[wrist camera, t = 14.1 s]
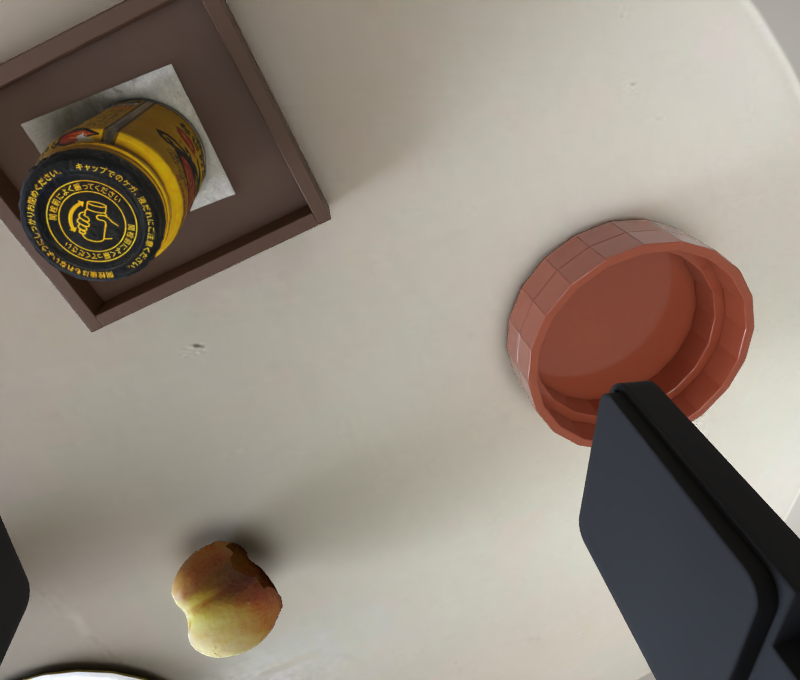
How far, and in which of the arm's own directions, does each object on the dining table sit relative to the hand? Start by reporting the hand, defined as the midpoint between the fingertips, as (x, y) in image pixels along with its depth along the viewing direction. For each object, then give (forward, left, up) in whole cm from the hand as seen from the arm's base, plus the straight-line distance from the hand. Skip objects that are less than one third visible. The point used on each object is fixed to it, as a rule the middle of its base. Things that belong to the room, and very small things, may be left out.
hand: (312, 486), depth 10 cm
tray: (+1, -8, -30) cm, 31 cm away
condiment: (+1, -9, -29) cm, 31 cm away
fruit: (+32, -8, -30) cm, 44 cm away
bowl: (+14, +21, -30) cm, 39 cm away
